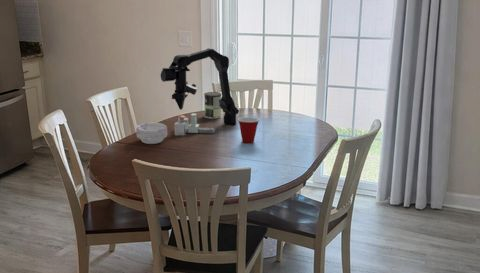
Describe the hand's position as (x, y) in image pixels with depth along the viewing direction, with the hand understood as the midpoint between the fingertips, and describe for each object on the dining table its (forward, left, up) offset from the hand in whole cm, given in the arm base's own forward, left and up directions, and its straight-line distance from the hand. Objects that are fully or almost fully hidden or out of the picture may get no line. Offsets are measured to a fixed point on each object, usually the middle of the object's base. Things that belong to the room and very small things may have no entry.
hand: (181, 109), depth 261 cm
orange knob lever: (0, 0, -9) cm, 9 cm away
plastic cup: (-37, +14, -13) cm, 41 cm away
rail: (-10, 0, -12) cm, 16 cm away
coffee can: (-13, -35, -13) cm, 39 cm away
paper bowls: (+11, +19, -13) cm, 26 cm away
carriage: (-7, 0, -12) cm, 14 cm away
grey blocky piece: (0, 0, -12) cm, 12 cm away
